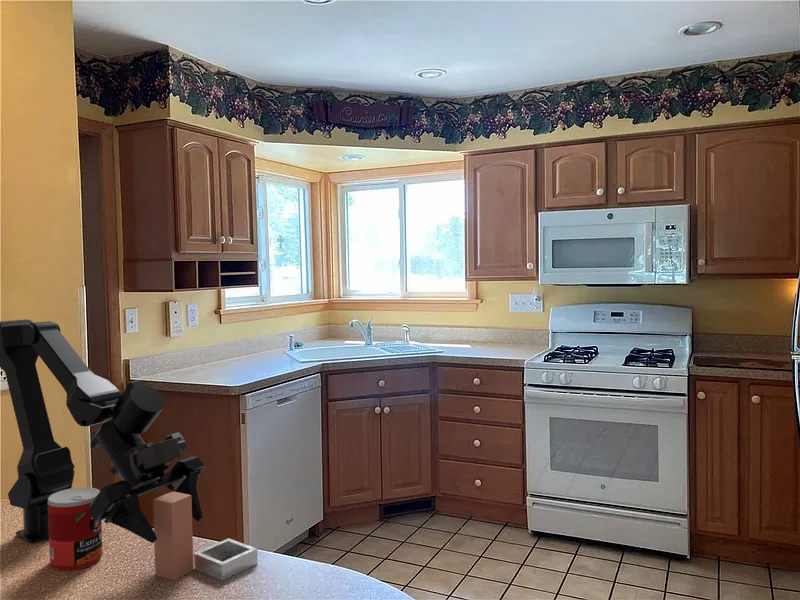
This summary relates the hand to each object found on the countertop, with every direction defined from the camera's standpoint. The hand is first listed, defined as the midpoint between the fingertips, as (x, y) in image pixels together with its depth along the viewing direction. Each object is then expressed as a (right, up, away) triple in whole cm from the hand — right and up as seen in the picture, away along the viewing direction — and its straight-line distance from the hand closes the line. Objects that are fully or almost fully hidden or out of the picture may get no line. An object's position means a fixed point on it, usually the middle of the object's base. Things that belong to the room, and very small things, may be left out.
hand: (178, 530), depth 102 cm
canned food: (-18, -7, +5) cm, 21 cm away
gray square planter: (+7, -7, +3) cm, 10 cm away
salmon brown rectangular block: (-1, -7, +1) cm, 7 cm away
